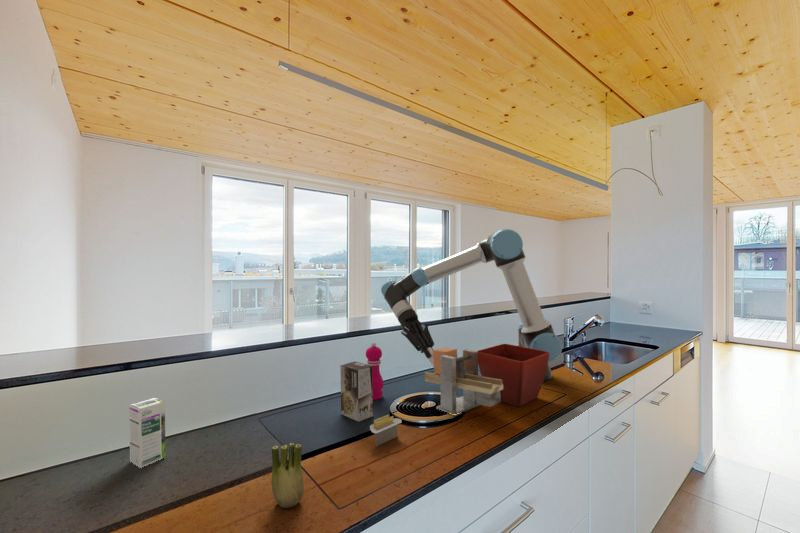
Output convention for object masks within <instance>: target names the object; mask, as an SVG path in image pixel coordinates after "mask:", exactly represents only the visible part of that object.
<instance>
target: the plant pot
mask: <svg viewBox="0 0 800 533" xmlns="http://www.w3.org/2000/svg"><path fill="white" fill-rule="evenodd" d="M477 351H478V370H479V372H480V376H483V377H489V378H495V379H501V380H502V382H503V390H500V396H501V402H503V403H506V404H508V405H512V406H515V407H522V406H523V405H526V404H527V403H529V402H532V401H533V400H535V399H538V397H539V395H540V392H541V389H542V386H543V383H544V377H545V373H546V370H547V365H548V363H549V362H548V360H549V352H547V351H541V350H536V349H531V348H526V347H521V346H519V345H514V344H509V343H500V344H498V345H495V346H490V347H486V348H483V349H479V350H477Z"/></svg>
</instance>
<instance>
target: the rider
mask: <svg viewBox="0 0 800 533" xmlns="http://www.w3.org/2000/svg"><path fill="white" fill-rule="evenodd" d="M442 355H447V356H451V357H455V358H458V348H452V347H450V348H449V347H442V348H436V349H433V360H434V367H433V370H434V372H433V373H436V374H440V356H442ZM456 377H457V376H456Z"/></svg>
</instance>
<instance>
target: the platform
mask: <svg viewBox="0 0 800 533" xmlns="http://www.w3.org/2000/svg"><path fill="white" fill-rule="evenodd" d="M402 422H403V421H402V419H400V418H396V417H395V418H394V416H393V415H392V416H390V414H387V415H384V416H381V417H380V418H376V419H374V420H373V423H372V424H370V425H369V430H370V431H371V433H373V434H375V435H374V436H375V440H374V441H375V442H374V443H375V447H378V446H380V445H383V444H385V443H387V442H388V441H391V440H393V439H396V438H398V425H399V424H401V423H402Z"/></svg>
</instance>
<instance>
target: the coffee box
mask: <svg viewBox="0 0 800 533" xmlns="http://www.w3.org/2000/svg"><path fill="white" fill-rule="evenodd" d="M372 367H373V366H371V365H368V364H367V363H363V362H359V361H351V362H348V363H345V364H342V365H341V364H340V366H339V369H340V411H341V412H340V414H341V416H344V417H347V418H349V419H351V420H354V421H356V422H362V421H364V420H367V419H369V418H372V417H373V416H374V412H373V411H374V410H373V408H374V406H373V405H374V404H373V402H374V400H373V382H372Z"/></svg>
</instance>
